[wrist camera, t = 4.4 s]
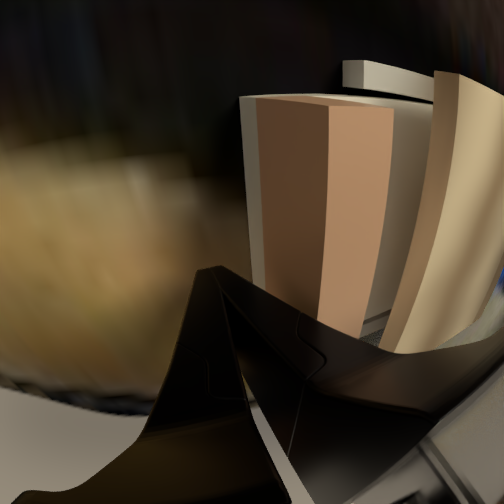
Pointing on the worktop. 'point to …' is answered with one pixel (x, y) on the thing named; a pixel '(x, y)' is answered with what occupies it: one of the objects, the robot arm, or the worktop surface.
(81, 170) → the worktop surface
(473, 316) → the beige open box
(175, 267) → the worktop surface
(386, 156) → the beige blocky piece
